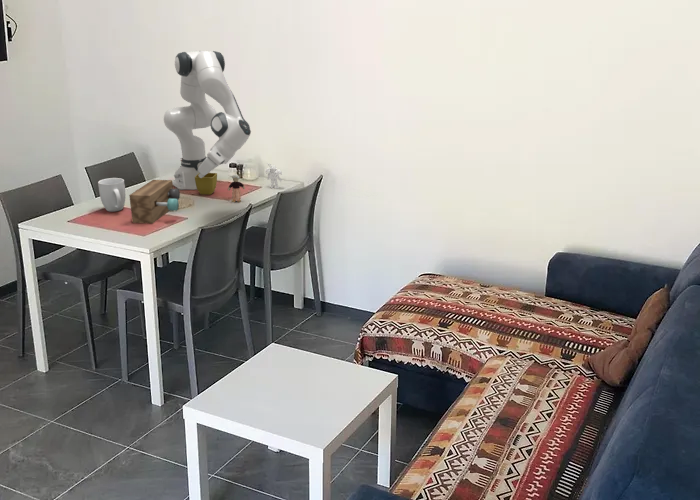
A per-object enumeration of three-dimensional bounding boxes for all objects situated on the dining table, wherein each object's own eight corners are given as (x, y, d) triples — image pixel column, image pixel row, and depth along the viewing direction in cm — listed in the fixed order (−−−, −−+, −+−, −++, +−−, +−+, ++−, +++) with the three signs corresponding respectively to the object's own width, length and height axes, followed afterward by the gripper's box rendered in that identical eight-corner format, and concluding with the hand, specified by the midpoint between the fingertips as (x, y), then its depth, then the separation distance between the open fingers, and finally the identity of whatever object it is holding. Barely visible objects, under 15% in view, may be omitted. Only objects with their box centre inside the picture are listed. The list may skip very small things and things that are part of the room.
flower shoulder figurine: (264, 187, 367) (263, 163, 363) (269, 185, 371) (267, 161, 366) (280, 189, 363) (278, 165, 359) (284, 187, 366) (283, 163, 362)
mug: (133, 212, 331) (130, 183, 327) (108, 217, 326) (104, 187, 321) (122, 204, 343) (119, 176, 339) (98, 208, 337) (94, 180, 333)
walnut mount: (174, 206, 340) (172, 180, 335) (152, 223, 316) (150, 195, 312) (155, 205, 341) (152, 179, 337) (132, 222, 318) (129, 195, 314)
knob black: (180, 198, 335) (179, 187, 333) (176, 201, 331) (175, 190, 329) (161, 197, 336) (160, 186, 335) (157, 200, 332) (156, 189, 330)
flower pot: (218, 191, 362) (217, 172, 359) (214, 196, 354) (212, 177, 351) (200, 190, 363) (199, 172, 360) (195, 195, 355) (194, 177, 352)
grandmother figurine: (230, 203, 343) (228, 176, 338) (228, 201, 346) (226, 174, 342) (246, 201, 345) (245, 174, 341) (244, 199, 349) (242, 172, 344)
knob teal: (179, 208, 321) (177, 197, 319) (174, 212, 316) (173, 200, 314) (159, 207, 322) (158, 196, 320) (155, 211, 317) (154, 199, 315)
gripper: (222, 143, 323) (202, 165, 327) (207, 153, 304) (186, 176, 308) (233, 153, 324) (213, 175, 328) (219, 163, 305) (198, 187, 309)
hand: (200, 176), depth 318 cm, fingers closed
